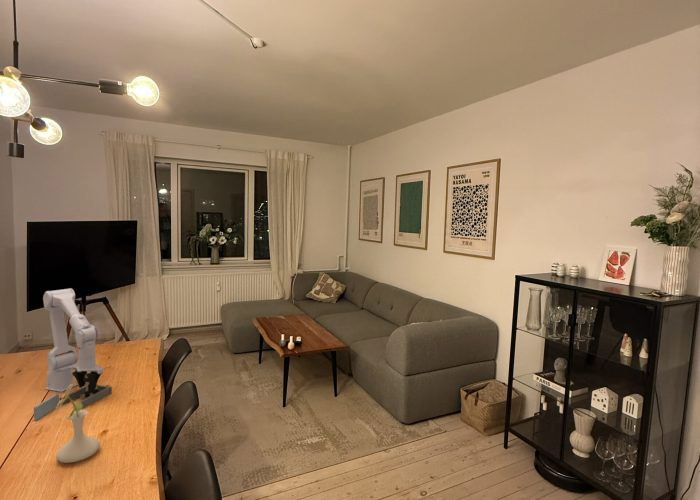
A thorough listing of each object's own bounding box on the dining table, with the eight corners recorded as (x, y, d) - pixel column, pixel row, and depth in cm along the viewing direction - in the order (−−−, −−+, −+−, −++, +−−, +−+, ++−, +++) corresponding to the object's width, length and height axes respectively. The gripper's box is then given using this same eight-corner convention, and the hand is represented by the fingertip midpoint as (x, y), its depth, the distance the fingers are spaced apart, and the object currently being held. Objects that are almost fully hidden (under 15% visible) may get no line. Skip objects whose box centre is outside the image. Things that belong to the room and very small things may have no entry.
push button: (79, 401, 152) (77, 378, 150) (81, 395, 156) (79, 373, 155) (99, 397, 155) (96, 374, 154) (100, 392, 159) (98, 370, 158)
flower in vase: (71, 444, 123) (70, 372, 121) (107, 444, 124) (106, 372, 122) (42, 470, 110) (40, 391, 108) (82, 470, 111) (81, 390, 109)
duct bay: (59, 405, 148) (59, 397, 148) (91, 390, 162) (91, 383, 162) (81, 409, 146) (81, 401, 145) (111, 393, 159) (111, 386, 159)
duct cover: (57, 404, 148) (56, 392, 148) (60, 404, 148) (59, 392, 148) (33, 420, 136) (33, 407, 136) (36, 420, 136) (36, 407, 136)
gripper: (63, 357, 151) (64, 389, 152) (92, 361, 147) (93, 394, 148) (79, 351, 157) (80, 382, 158) (107, 355, 154) (108, 386, 155)
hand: (87, 387), depth 154 cm, fingers closed on push button, 5 cm apart
